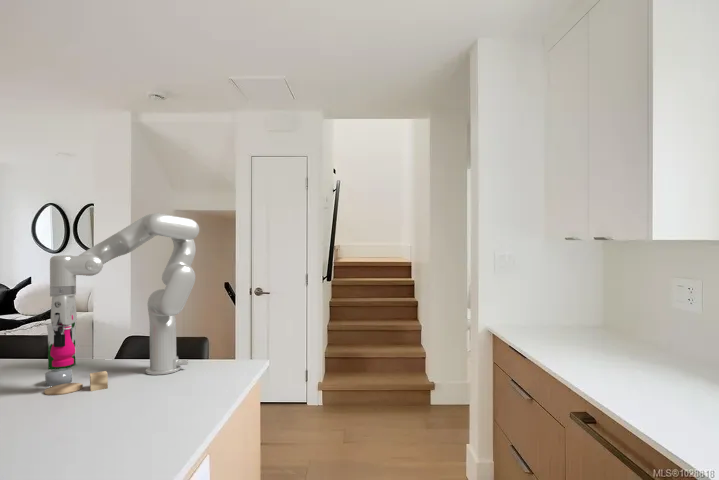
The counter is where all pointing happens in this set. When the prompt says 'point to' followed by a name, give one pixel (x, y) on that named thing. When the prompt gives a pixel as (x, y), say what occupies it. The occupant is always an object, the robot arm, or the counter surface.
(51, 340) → the milk carton
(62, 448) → the counter surface
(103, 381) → the oak block
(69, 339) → the pepper mill
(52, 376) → the grey rounded dome
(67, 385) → the cork trivet
